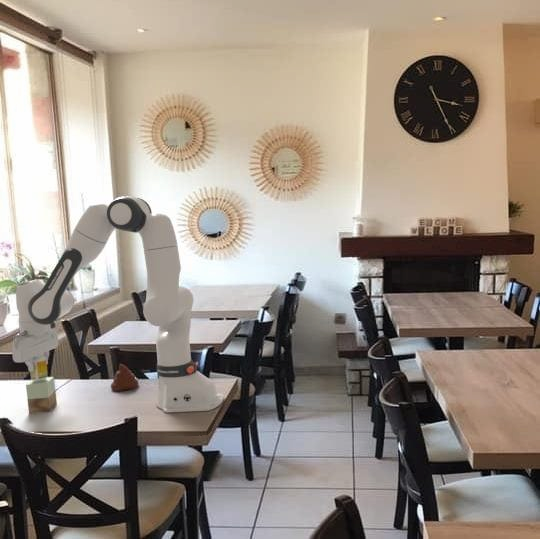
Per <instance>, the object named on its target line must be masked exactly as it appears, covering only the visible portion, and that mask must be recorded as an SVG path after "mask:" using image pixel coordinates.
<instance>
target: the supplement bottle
mask: <svg viewBox="0 0 540 539" xmlns="http://www.w3.org/2000/svg"><path fill="white" fill-rule="evenodd" d="M32 363H33V365H35V368H36V370H34V371H29V372H30V373H29V374H30V375H29V376H30V381H31V380H32V381H40V380H44V379H46V378H47V377H49V375H48V366H47V365H48V364H46V357H45V356H43V351H41V352H40V355H38V356H36V357H34V358H33V361H32Z"/></svg>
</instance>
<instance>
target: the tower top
mask: <svg viewBox="0 0 540 539" xmlns="http://www.w3.org/2000/svg"><path fill="white" fill-rule="evenodd" d="M55 385H56V384H55V378H54V376H48V377H47V378H46V379H44V380H40V381H32V380H31V379H30V381H28V382H27V383H25V388H26V389H25V390H26V397H27V399H36V398H49V397H50V396H51V395H52V394H53V393H54V391H56V386H55Z"/></svg>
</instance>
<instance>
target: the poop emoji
mask: <svg viewBox="0 0 540 539" xmlns="http://www.w3.org/2000/svg"><path fill="white" fill-rule="evenodd" d="M137 387H139V380H138V379H137V378H136V375H135V373H133V372H132V371H131V369H129V368H128V367H127V366H126V365H124V364H122V363H119V367H118V370H117V371H116V373H115V376H114V378H113V382H112V383H111V384H110V388H111V390H112V391H115V392H122V391H126V390H133V389H136V388H137Z"/></svg>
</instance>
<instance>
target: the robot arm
mask: <svg viewBox="0 0 540 539" xmlns="http://www.w3.org/2000/svg"><path fill="white" fill-rule="evenodd" d="M152 212H153V211H152V209H151V206H150V205H149V203H148V202H147V201H146V200H144V199H142V198H139V197H135V196H130V195H128V196H119V197H117V198H115V199H114V200H112V201H111V202H110V204H109V205H107V204H106V203H102V202H94V203H91V204H90V205H89V206H88V207H87V208H86V209H85V211H84V213H83V214H82V215H81V217H80V218H79V219H78V222H77V223H76V225H75V227H74V229H73V231H72V233H71V236H70V238H69V240H68V242H67V244H66V246H65V248H64V250H63V252H62V254H61V257H60V259H59V260H58V262H57V264H55V267H54V269H53V270H52V272H51V273H50V276H49V277H48V279H47V280H46V282H43V281H42V280H40V279H31V280H27V281H24V282H21V283H19V284H18V285H17V287H16V289H15V302H16V310H17V312H18V327H19V333H17V334H15V336H14V338H12V339H13V340H12V341H13V342H12V346H11V347H12V348H11V350H12V351H11V352H12V360H13V362H14V363H25V365H26V367H27V369H28V372H30V371H34V370H36V368H35V365H33V363H32V361H33V358H34V357H36V356H38V355H40V352H41V351H43V356H45V357H46V364H47V365H48V364H49V362H48V360H49V356H50V351H53V350H54V349H57V347H58V345H59V335H58V329H57V327H58V323H57V320H58V319H60V318H62V317H63V316H65V315H67V314H68V313H69V312H71V311H72V310H73V309H74V308H73V307H74V305H75V300H74V296H73V294H72V292H70V291H69V289H68V287H69V285H70V284H71V282H72V280H73V279H74V278H75V276H76V275H77V274H78V272H80V270H82V269H83V268H84V267H86V266H87V265H89V264H90V263H92V262H93V261H95V260H96V259H97V258H98V257H99V255H100V254H101V253H102V251H103V250H104V249H105V247H106V244H107V243H108V241H109V239H110V237H111V236H112V233H113V232H114V231H115V230H116V229H117V230H119V231H123V232H131V233H133V234H134V233H135V234H136V233H138V234H139V235H140V238H141V241H142V247H143V254H144V261H145V268H146V294H145V296H146V297H145V302H144V305H143V311H142V313H143V317H144V318H145V320H146V322H148V323H149V324H150V325H152V326H155V327H158V333H157V336H156V340H155V344H156V346H155V347H156V357H157V363H156V373H157V374H156V375H157V379H158V393H157V401H156V407H158V408H159V409H161V410H162V411H163V413H186V412H205V411H206V412H207V411H211V410H214V409H216V408H217V407H219V406H220V405H222V403H223V402H224V394H222V393H217V392H218V391H217V389H216V385H215V383H214V381H213V380H212V379H210V378H209V377H207V376H205V375H204V374H203V373H201V372H199V371H198V365H199V362H198V361H196V362H194V361H193V359H192V356H191V344H190V342H191V341H190V332H191V320H192V309H193V306H194V296H193V293H192V292H191V291H190V289H188V288H186V287H185V286H181V285H180V284H179V282H180V274H181V271H182V266H181V259H180V253H179V248H178V246H179V245H178V241H177V236H176V232H175V228H174V225H173V222H172V220H171V219H170V217H168V215H166V214H162V213H152Z"/></svg>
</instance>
